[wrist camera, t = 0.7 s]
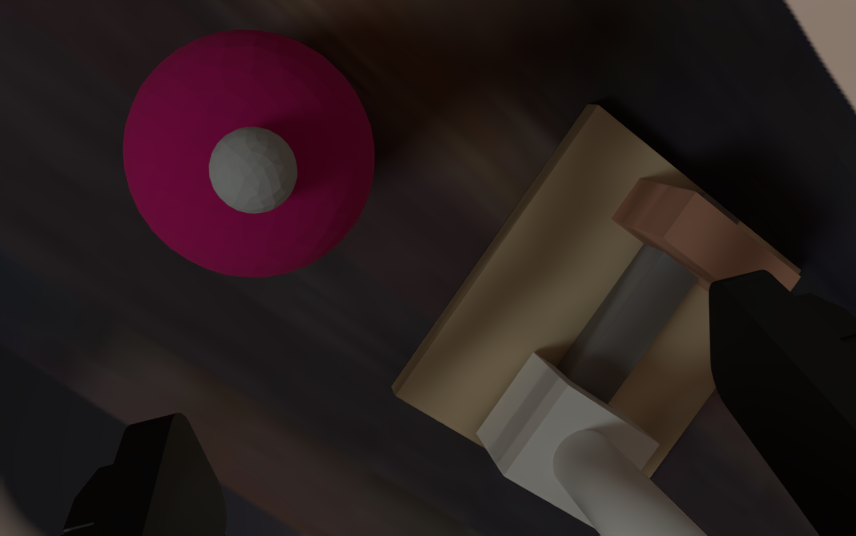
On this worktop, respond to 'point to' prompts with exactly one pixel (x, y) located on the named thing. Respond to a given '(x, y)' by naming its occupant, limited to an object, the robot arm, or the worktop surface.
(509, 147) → the worktop surface
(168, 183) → the pepper mill
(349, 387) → the worktop surface
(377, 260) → the worktop surface
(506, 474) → the white handled block
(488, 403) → the track
